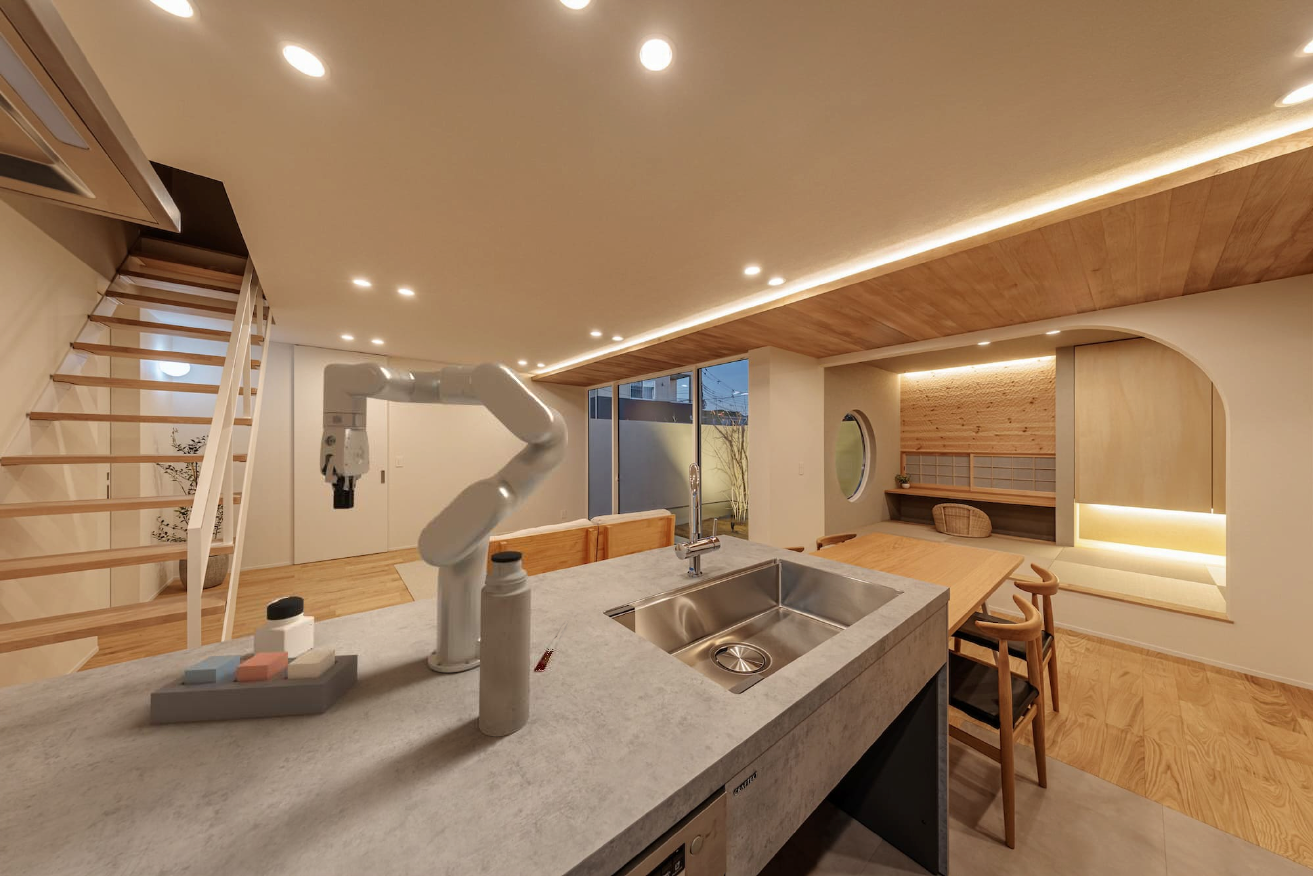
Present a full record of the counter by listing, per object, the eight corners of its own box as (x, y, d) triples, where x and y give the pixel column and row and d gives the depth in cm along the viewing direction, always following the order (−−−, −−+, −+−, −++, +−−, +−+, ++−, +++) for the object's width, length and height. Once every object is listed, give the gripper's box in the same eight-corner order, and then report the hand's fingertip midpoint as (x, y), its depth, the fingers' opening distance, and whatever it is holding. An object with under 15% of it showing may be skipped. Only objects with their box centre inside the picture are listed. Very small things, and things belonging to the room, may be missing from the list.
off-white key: (334, 668, 79) (334, 649, 79) (317, 683, 75) (317, 663, 75) (306, 670, 79) (306, 651, 79) (287, 684, 74) (287, 664, 74)
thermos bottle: (500, 701, 76) (503, 545, 76) (538, 711, 74) (540, 550, 74) (467, 729, 69) (470, 557, 69) (508, 741, 66) (511, 562, 66)
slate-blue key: (239, 674, 77) (240, 654, 77) (215, 689, 73) (216, 668, 73) (210, 675, 77) (210, 656, 77) (184, 691, 72) (184, 670, 72)
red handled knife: (569, 622, 110) (569, 619, 110) (544, 673, 86) (543, 668, 86) (562, 622, 110) (562, 619, 110) (534, 673, 86) (534, 668, 86)
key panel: (357, 680, 82) (357, 654, 82) (323, 713, 72) (323, 684, 72) (207, 688, 79) (207, 661, 79) (150, 724, 69) (150, 693, 69)
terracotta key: (287, 670, 78) (288, 651, 78) (267, 685, 74) (267, 665, 74) (259, 671, 78) (259, 652, 78) (236, 687, 73) (236, 666, 73)
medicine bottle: (314, 648, 95) (315, 594, 95) (283, 664, 88) (284, 606, 88) (285, 646, 96) (286, 592, 96) (252, 662, 88) (253, 604, 89)
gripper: (342, 421, 84) (341, 514, 84) (382, 424, 98) (380, 503, 98) (301, 420, 83) (299, 514, 83) (347, 423, 98) (345, 503, 97)
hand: (343, 508), depth 90 cm, fingers closed
